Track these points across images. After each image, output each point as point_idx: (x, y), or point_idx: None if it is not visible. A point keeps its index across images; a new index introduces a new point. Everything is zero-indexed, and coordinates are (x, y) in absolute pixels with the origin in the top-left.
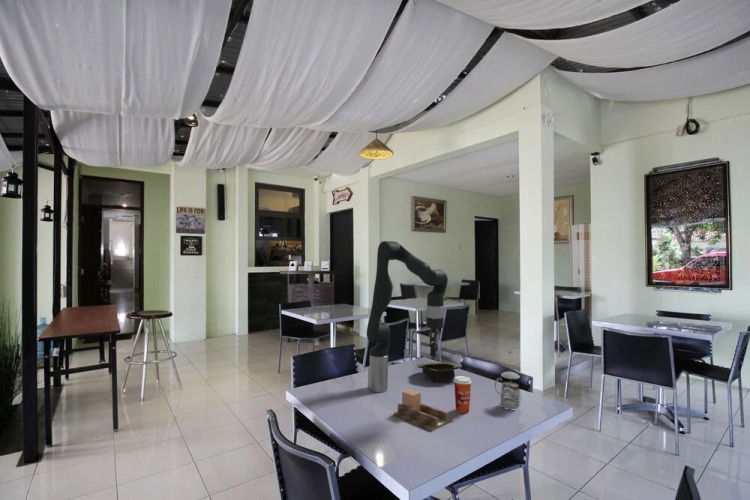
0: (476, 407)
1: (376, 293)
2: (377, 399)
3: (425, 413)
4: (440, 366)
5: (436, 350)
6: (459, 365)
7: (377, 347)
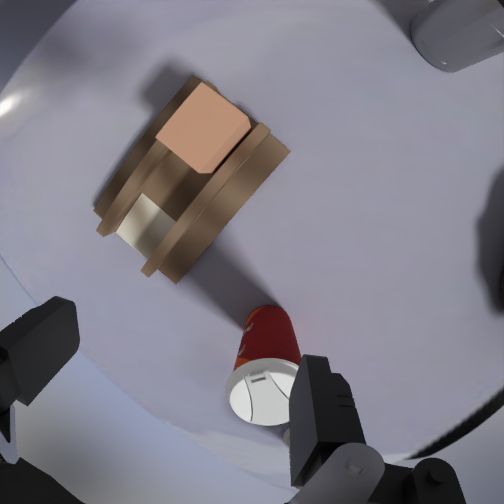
0: None
1: None
2: (344, 24)
3: (129, 193)
4: None
5: (290, 398)
6: None
7: None
